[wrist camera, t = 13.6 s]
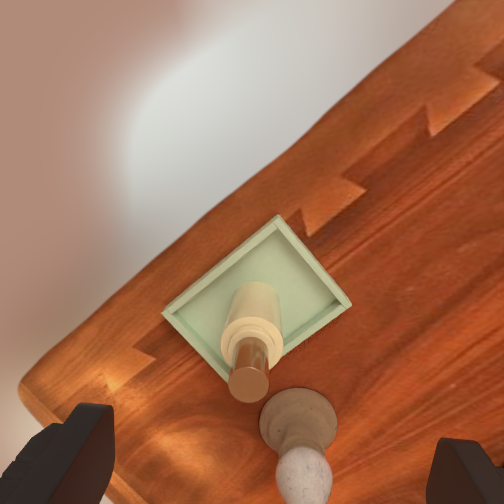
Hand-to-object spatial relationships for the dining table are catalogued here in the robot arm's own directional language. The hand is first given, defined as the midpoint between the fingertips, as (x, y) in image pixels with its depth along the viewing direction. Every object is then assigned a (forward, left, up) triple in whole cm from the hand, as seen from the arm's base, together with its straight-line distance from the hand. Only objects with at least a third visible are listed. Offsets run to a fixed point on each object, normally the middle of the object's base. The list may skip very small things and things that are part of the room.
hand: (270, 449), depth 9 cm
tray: (+8, -1, -30) cm, 31 cm away
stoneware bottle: (+8, -1, -30) cm, 31 cm away
